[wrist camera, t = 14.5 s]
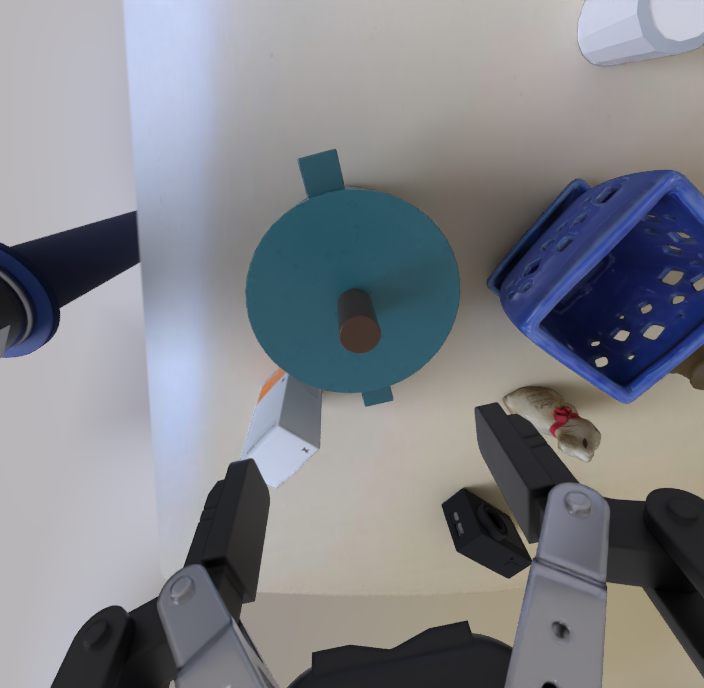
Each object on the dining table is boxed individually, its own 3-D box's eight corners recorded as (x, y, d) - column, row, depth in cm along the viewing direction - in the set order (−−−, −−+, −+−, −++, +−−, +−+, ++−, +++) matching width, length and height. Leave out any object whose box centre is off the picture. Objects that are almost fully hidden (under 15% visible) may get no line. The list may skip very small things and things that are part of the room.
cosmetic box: (292, 349, 39) (279, 423, 28) (323, 371, 40) (322, 449, 29) (259, 386, 40) (235, 469, 30) (290, 406, 42) (277, 491, 31)
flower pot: (564, 157, 32) (683, 158, 21) (651, 244, 36) (788, 281, 25) (461, 280, 36) (517, 332, 26) (548, 345, 40) (628, 412, 30)
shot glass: (658, -65, 25) (765, -136, 19) (664, 48, 28) (757, 18, 22) (561, -11, 26) (633, -61, 20) (576, 93, 29) (643, 76, 23)
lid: (287, 403, 30) (278, 455, 24) (214, 221, 23) (180, 240, 18) (464, 361, 29) (494, 406, 24) (442, 160, 22) (477, 162, 17)
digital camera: (516, 512, 53) (542, 559, 47) (488, 532, 55) (509, 580, 48) (469, 481, 49) (490, 528, 43) (441, 504, 51) (456, 552, 45)
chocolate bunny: (537, 431, 46) (587, 497, 37) (496, 401, 43) (540, 465, 35) (573, 402, 44) (635, 464, 35) (533, 369, 42) (589, 427, 33)
